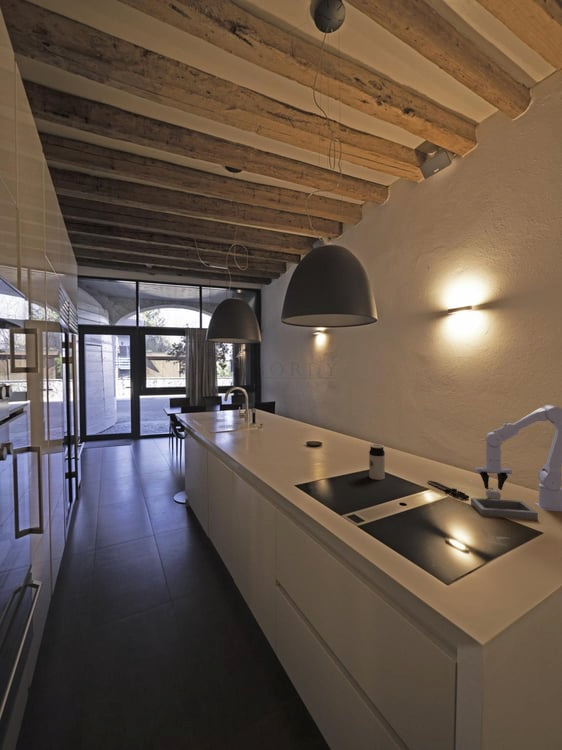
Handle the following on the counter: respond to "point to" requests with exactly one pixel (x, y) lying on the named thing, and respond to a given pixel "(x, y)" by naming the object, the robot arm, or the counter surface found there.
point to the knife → (453, 491)
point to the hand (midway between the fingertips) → (493, 488)
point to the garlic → (493, 494)
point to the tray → (504, 508)
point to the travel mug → (376, 462)
